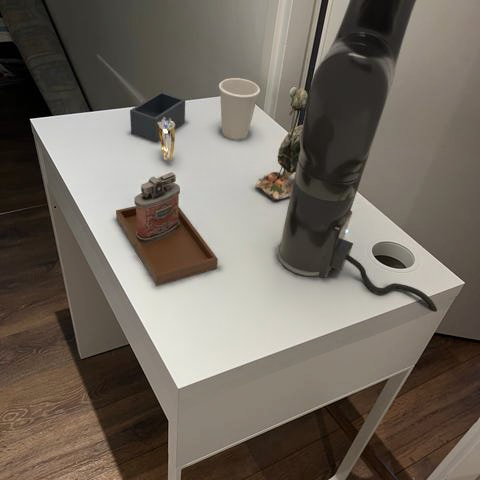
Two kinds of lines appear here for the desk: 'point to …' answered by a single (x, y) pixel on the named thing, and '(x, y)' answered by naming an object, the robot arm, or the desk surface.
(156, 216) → the lighter
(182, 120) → the box
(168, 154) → the ring
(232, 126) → the dixie cup
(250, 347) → the desk surface
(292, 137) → the plant with pod
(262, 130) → the desk surface
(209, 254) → the tray
